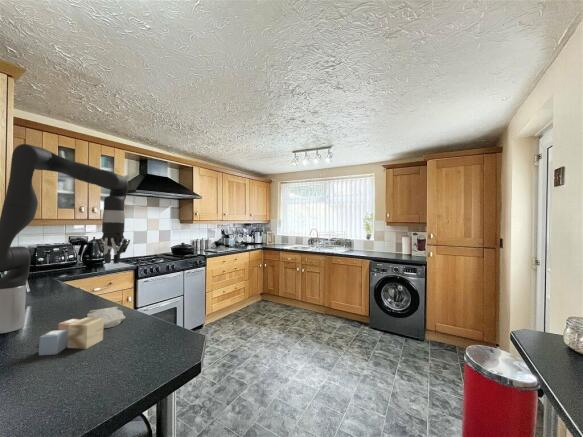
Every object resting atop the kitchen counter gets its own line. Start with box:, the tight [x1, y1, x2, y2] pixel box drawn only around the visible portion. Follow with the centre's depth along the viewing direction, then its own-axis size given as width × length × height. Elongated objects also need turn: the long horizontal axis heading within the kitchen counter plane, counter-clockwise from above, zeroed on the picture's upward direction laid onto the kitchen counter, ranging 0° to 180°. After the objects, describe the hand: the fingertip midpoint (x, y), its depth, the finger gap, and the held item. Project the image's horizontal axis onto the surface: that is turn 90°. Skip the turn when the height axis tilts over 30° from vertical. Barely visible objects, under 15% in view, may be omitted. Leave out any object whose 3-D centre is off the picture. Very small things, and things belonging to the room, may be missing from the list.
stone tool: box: [86, 306, 127, 330], centre depth 113 cm, size 13×4×25 cm
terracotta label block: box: [57, 318, 81, 342], centre depth 95 cm, size 5×5×6 cm
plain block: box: [66, 316, 104, 350], centre depth 90 cm, size 7×7×8 cm
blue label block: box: [38, 329, 68, 356], centre depth 85 cm, size 5×5×6 cm
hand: (112, 263), depth 103 cm, fingers open, 3 cm apart
